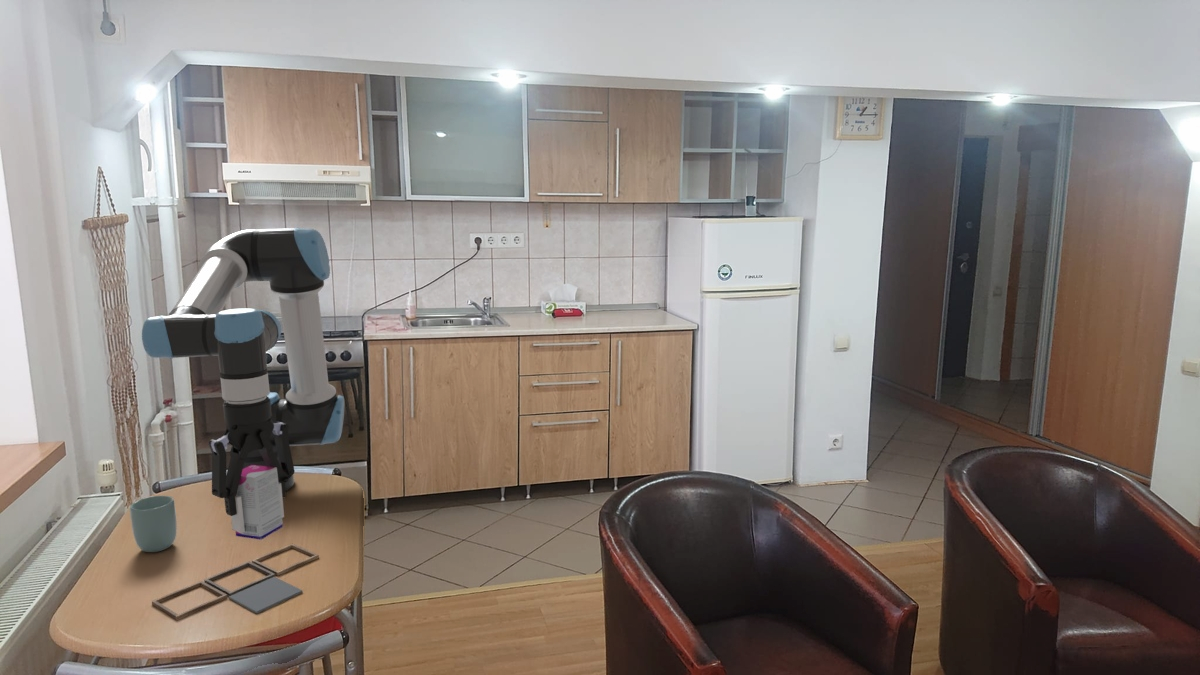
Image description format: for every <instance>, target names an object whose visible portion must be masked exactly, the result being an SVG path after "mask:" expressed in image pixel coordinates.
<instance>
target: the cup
mask: <svg viewBox="0 0 1200 675" xmlns="http://www.w3.org/2000/svg"><path fill="white" fill-rule="evenodd" d="M129 513H130V514H129V515H130V524H131V528H132V534H133V538H134V541H135V544H136V545H137V547H138V548H139V550H141V551H143V552H146V553H158V552H162V551H164V550H167V549H169V548H170V547H171V546H172V545H173V544H174V543H175V540H176V538H177V534H178V528H177V527H178V525H177V524H178V521H177V513H176V505H175V498H173V497H172V496H170V495H152V496H148V497H144V498H140V499H139V500H136V501H135V502H133V503H132V504H130V506H129Z"/></svg>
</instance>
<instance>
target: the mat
mask: <svg viewBox="0 0 1200 675" xmlns="http://www.w3.org/2000/svg"><path fill="white" fill-rule="evenodd" d="M302 593H303V589H301V588H299V587H297V586H294V585H292V584H290V583H288V582H286V581H284V580H282V579H280V578H278V577H276V576H275V577H272V578H270V579H268V580H266V581H263V582H261V583H259V584H256V585H254V586H252V587H250V588H247V589H245V590H243V591H240V592H238V593H236V594H234V595H231V596H228V599H230V601H232V602H235V603H237V604H238V605H240V606H242V607H244V608H245V609H247V610H249V611H251V612H252V613H255V614H259V613H262V612H264V611H266V610H268V609H270V608H272V607H275V606H276V605H279V604H280V603H283V602H284V601H287V600H289V599H291V598H294V597H296V596H297V595H300V594H302Z"/></svg>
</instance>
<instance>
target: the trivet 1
mask: <svg viewBox="0 0 1200 675" xmlns="http://www.w3.org/2000/svg"><path fill="white" fill-rule="evenodd" d="M198 587H203V588H204V589H206V590H208V591H210V592H212V593H213V594H214V595H217V596H218V597H215V598H213V599H210V600H209V601H206V602H204V603H201V604H200V605H197V606H194V607H193V608H190V609H188V610H185V611H183V612H180V613H179V614H178V613H176V612H175V611H173V610H172V609H170V608H169V607H167V606H165V605H164V604H162V602H165V601H167V600H169V599H172V598H174V597H176V596H179V595H182V594H183V593H186V592H189V591H190V590H194V589H196V588H198ZM226 599H229V596H228V595H227V594H225V593H223V592H221V591H219V590H218V589H216V588H214V587H212V586H210V585H208V584H207V583H205V582H204V581H203V580H200V581H198V582H195V583H193V584H191V585H187V586H185V587H183V588H180V589H178V590H176V591H173V592H170V593H168V594H166V595H163V596H162V597H159V598H156V599H154V600H151V605H152V606H154V607H156V608H157V609H159V610H161V611H162V612H164V613H165V614H167V615H169V616H170V617H171V618H173V619H175V620H177V621H178V620H180V619H182V618H184V617H188V616H189V615H192V614H193V613H195V612H199V611H201V610H203V609H205V608H208V607H210V606H212V605H214V604H216V603H218V602H221V601H224V600H226Z"/></svg>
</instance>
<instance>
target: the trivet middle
mask: <svg viewBox="0 0 1200 675" xmlns="http://www.w3.org/2000/svg"><path fill="white" fill-rule="evenodd" d="M247 567H250V568H252V569H254V570H256V571H259V572H260V573H263V574H264V575H266V576H264V577H262V578H259V579H257V580H255V581H252V582H250V583H248V584H245V585H243V586H241V587H239V588H237V589H234V590H229V589H227V588H225V587H223V586H221V585H219V584H218V583H216V582H214V581H215V580H217V579H220V578H222V577H224V576H227V575H229V574H232V573H235V572H237V571H239V570H241V569H244V568H247ZM272 577H276V575H275V574H274V573H272V572H270V571H268V570H266V569H264V568H262V567H260V566H258V565H256V564H254V563H252V561H247V562H243V563H242V564H239V565H236V566H234V567H231V568H230V569H227V570H224V571H222V572H220V573H216V574H215V575H213V576H210V577H206V578H205V579H203V580H204V581H203V582H205V583H207V584H208V585H210V586H212V587H214V588H216V589H218V590H219V591H221V592H223V593H225V594H227V597H229V596H231V595H234V594H236V593H238V592H240V591H243V590H245V589H247V588H250V587H252V586H254V585H256V584H259V583H261V582H263V581H266V580H268V579H270V578H272Z"/></svg>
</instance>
